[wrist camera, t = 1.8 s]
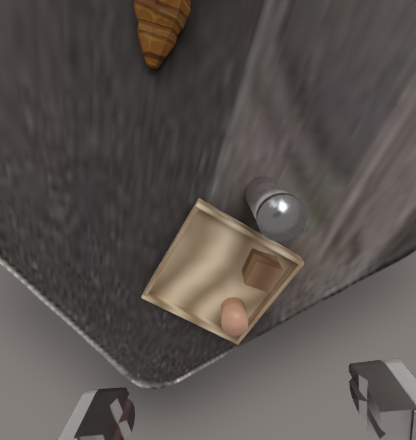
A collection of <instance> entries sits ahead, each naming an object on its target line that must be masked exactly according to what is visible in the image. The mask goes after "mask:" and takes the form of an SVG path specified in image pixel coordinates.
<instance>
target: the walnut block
mask: <svg viewBox="0 0 416 440" xmlns="http://www.w3.org/2000/svg"><path fill="white" fill-rule="evenodd" d="M282 272H283V269H282V267H281V265H280V263H279V261H278V259H277V257H276V256H273V255H270V254H267V253H265V252H262V251H259V250H256V249H253V248H252V249H251V252H250V254H249V256H248V258H247V260H246V262H245V264H244V266H243V268H242V274H243V279H244V284H245V285H247V286H250V287H253V288H256V289H259V290H262V291H265V292H268V293H271V292H272V290H273V289H274V287H275V285H276V283H277V281H278V279H279V278H280V276H281V274H282Z"/></svg>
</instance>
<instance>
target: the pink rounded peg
mask: <svg viewBox="0 0 416 440" xmlns="http://www.w3.org/2000/svg"><path fill="white" fill-rule="evenodd" d="M221 323H222V329H223V331H224V332H225V333H227V334H229V335H232V336H238V335H241V334H243V333H244V332H245V331H246V330H247V329H248V320H247V314H246V308H245V304H244V302H243V301H242V300H241V299H239V298H236V297H231V298H227V299H226V300H224V301H223V303H222V304H221Z"/></svg>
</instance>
